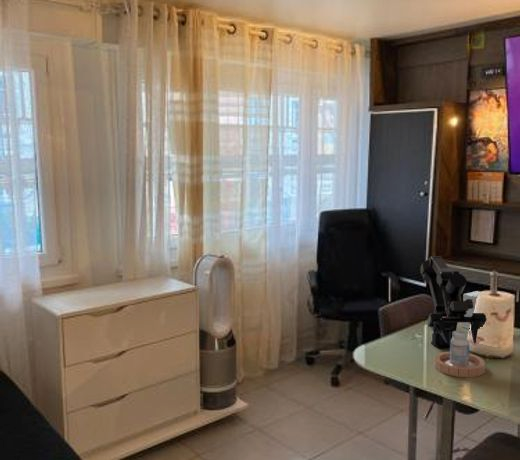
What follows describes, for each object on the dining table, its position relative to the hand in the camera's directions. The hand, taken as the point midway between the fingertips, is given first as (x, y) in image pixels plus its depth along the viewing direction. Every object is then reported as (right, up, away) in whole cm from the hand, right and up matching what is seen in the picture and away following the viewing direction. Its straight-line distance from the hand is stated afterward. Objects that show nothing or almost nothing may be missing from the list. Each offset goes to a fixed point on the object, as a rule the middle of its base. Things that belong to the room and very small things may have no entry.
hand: (461, 342), depth 181 cm
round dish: (0, -9, +2) cm, 9 cm away
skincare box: (+22, -3, +44) cm, 50 cm away
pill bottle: (0, -8, +2) cm, 9 cm away
